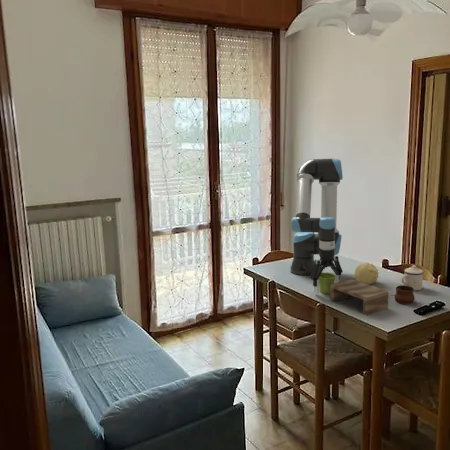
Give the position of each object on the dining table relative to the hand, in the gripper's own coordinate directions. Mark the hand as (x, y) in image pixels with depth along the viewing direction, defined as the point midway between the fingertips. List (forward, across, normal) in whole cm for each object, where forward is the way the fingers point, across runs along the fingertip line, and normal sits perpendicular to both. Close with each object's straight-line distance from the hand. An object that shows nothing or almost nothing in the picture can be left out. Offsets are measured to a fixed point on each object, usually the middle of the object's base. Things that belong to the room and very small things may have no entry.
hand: (326, 289), depth 228 cm
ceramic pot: (+2, +20, -31) cm, 37 cm away
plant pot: (+1, 0, 0) cm, 1 cm away
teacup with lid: (+1, +38, -21) cm, 43 cm away
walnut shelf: (+1, 0, -21) cm, 21 cm away
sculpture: (+1, +27, -2) cm, 27 cm away
